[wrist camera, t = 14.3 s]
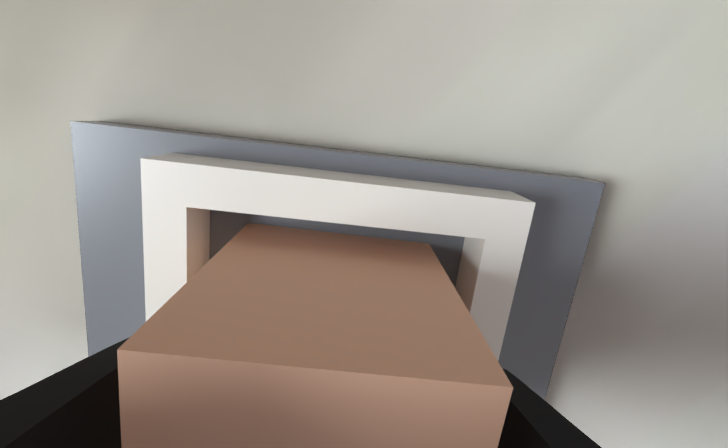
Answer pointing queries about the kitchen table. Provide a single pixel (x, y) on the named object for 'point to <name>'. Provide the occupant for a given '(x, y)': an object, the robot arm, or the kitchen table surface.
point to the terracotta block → (312, 351)
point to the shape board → (326, 225)
